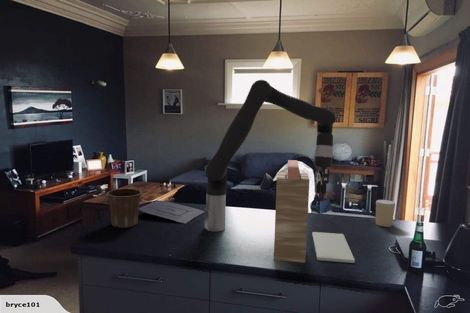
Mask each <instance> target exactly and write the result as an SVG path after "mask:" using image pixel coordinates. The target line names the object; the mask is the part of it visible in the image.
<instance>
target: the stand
mask: <svg viewBox="0 0 470 313" xmlns="http://www.w3.org/2000/svg"><path fill="white" fill-rule="evenodd" d="M309 197H310V177H309V174H308V172H307V173H303V172H301V170H300V169H299V180H292V179H288V169H285V172H282V171H281V172H280V171H277V176H276V192H275V212H274V213H275V215H274V216H275V219H274V220H275V221H274V244H273V261H279V262H292V263H303V264H305V263H306V259H307V258H306V257H307V255H306V254H307V241H308V240H307V237H308V235H307V234H308V220H309V215H308V214H309Z"/></svg>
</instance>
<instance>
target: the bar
mask: <svg viewBox="0 0 470 313" xmlns="http://www.w3.org/2000/svg"><path fill="white" fill-rule="evenodd" d="M299 166H300V165H299V162H298V159H297V160H295V159H288V160H287V173H288V179H292V180H299V170H300V167H299Z"/></svg>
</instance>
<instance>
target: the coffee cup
mask: <svg viewBox="0 0 470 313" xmlns="http://www.w3.org/2000/svg"><path fill="white" fill-rule="evenodd" d="M395 208H396V203H395V201H393V200H389V199H377V200H376V201H375V225H378V226H380V227H387V228H388V227H389V228H390V227H393V226H392V225H393V222H394V214H395V210H396V209H395Z"/></svg>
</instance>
